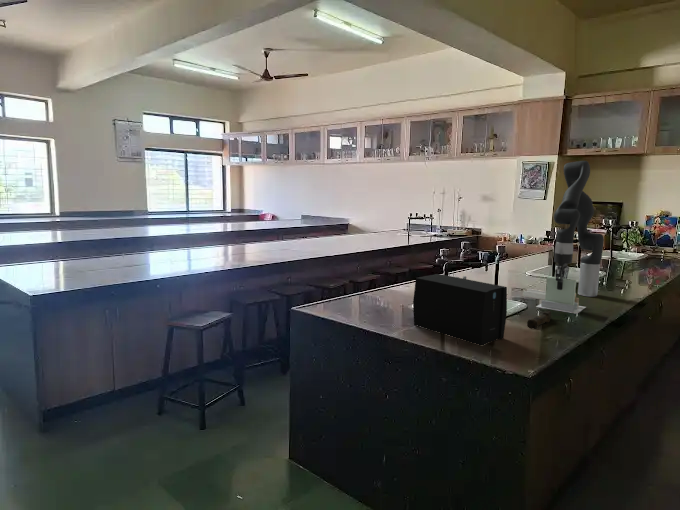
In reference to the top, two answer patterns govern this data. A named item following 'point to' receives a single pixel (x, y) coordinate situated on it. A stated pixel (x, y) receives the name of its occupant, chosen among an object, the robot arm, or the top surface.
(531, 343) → the top surface
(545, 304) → the grey rack
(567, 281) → the sage board
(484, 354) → the top surface
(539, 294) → the white stand
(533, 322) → the hand tool
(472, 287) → the uninterruptible power supply
